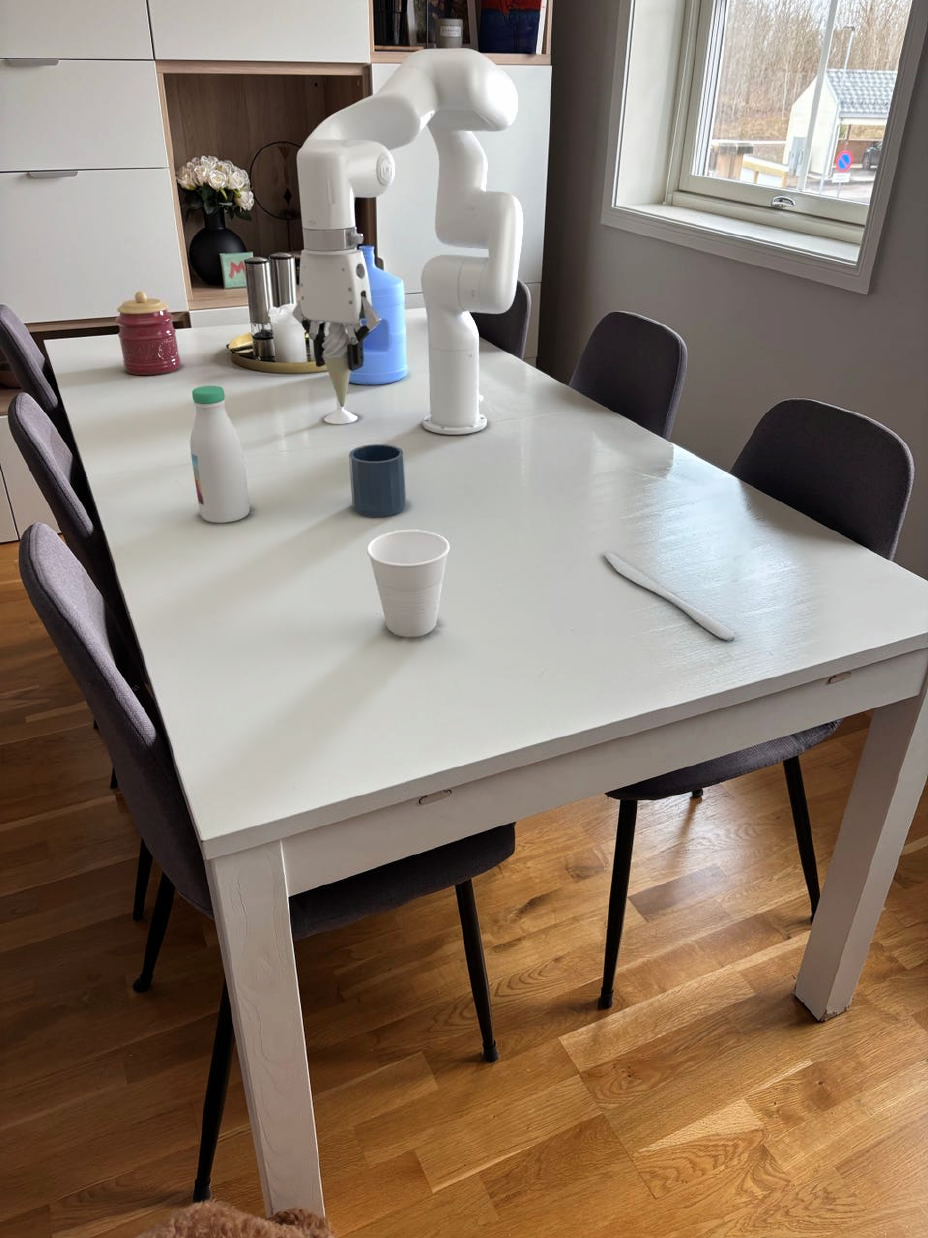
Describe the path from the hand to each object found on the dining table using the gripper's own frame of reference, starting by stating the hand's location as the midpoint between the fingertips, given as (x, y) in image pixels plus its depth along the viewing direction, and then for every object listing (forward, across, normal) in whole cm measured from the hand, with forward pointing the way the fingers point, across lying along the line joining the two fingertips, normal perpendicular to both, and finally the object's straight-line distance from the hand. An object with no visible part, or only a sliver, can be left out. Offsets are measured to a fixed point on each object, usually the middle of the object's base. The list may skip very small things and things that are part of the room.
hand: (339, 365), depth 146 cm
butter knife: (+21, -56, +13) cm, 61 cm away
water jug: (+22, +32, -64) cm, 75 cm away
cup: (+21, -30, +34) cm, 50 cm away
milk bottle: (+22, +14, +15) cm, 29 cm away
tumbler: (+21, -7, +2) cm, 23 cm away
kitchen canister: (+22, +84, -49) cm, 100 cm away
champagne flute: (+22, +23, -34) cm, 46 cm away
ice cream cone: (+7, 0, 0) cm, 7 cm away
